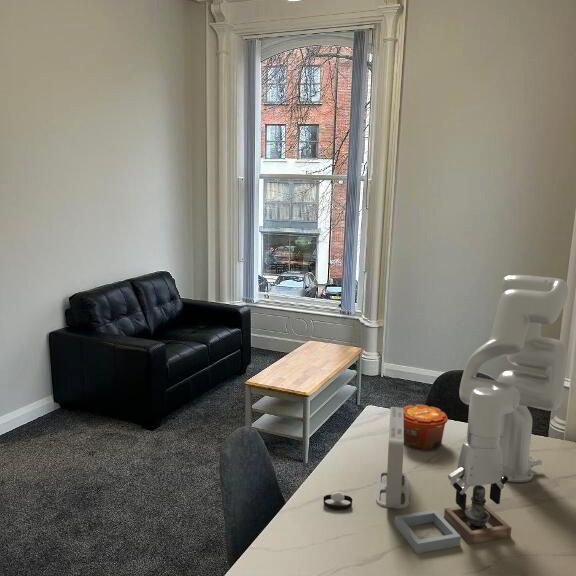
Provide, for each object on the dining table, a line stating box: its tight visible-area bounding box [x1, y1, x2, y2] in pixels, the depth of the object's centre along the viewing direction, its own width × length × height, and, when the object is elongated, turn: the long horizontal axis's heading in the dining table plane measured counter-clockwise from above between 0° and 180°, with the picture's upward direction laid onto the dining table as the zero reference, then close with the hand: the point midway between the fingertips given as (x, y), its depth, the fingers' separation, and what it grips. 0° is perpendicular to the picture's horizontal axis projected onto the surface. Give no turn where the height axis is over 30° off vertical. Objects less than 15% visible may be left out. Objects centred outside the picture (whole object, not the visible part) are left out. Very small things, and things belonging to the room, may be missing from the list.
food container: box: [402, 404, 449, 452], centre depth 184 cm, size 16×16×11 cm
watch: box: [322, 491, 353, 511], centre depth 146 cm, size 8×5×4 cm, turn 87°
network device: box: [375, 406, 410, 510], centre depth 153 cm, size 26×9×20 cm, turn 168°
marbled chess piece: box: [465, 485, 490, 531], centre depth 137 cm, size 6×6×12 cm
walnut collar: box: [443, 503, 512, 545], centre depth 138 cm, size 11×11×2 cm
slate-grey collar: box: [394, 509, 462, 554], centre depth 134 cm, size 11×11×2 cm
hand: (477, 503), depth 137 cm, fingers open, 9 cm apart
